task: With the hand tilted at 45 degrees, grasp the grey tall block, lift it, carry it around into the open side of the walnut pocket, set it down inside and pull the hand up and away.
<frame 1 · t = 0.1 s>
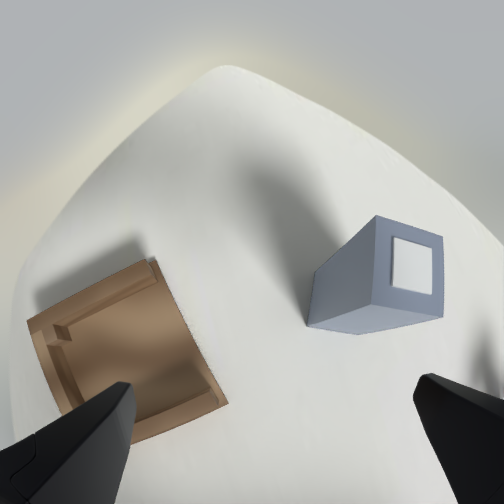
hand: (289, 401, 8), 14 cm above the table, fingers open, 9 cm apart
pocket: (120, 363, 20), on the table
grey tall block: (337, 303, 23), on the table
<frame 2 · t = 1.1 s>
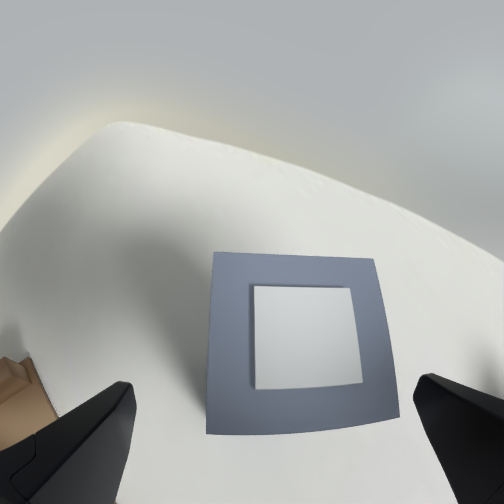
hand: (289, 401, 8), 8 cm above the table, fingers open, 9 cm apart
pocket: (15, 473, 9), on the table
grey tall block: (256, 391, 15), on the table
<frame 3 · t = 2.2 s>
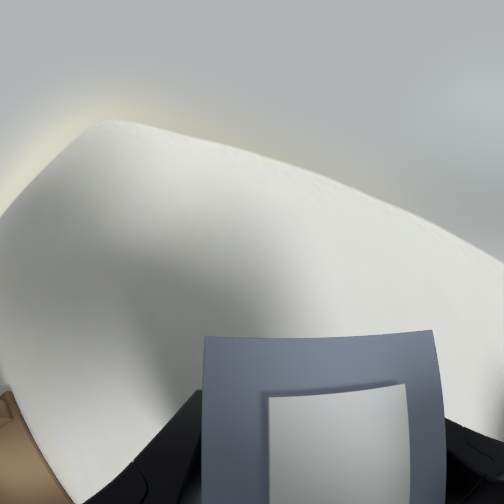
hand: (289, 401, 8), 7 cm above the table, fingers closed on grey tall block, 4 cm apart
grey tall block: (261, 436, 12), on the table, touching gripper
when the fingers open (7 cm above the table, at t = 6.1 s): grey tall block stays where it is, resting on pocket.
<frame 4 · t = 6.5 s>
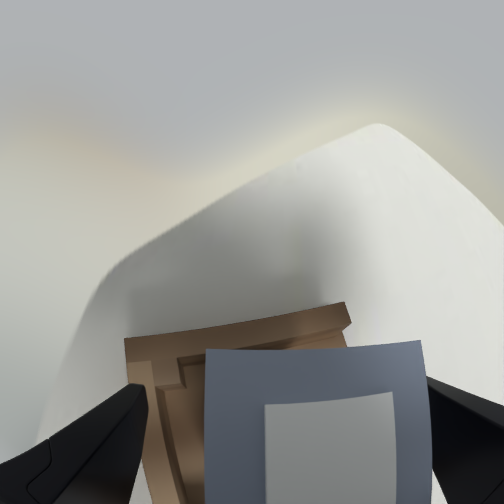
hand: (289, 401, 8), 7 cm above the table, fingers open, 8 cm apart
pocket: (258, 434, 13), on the table
grey tall block: (260, 435, 13), resting on pocket
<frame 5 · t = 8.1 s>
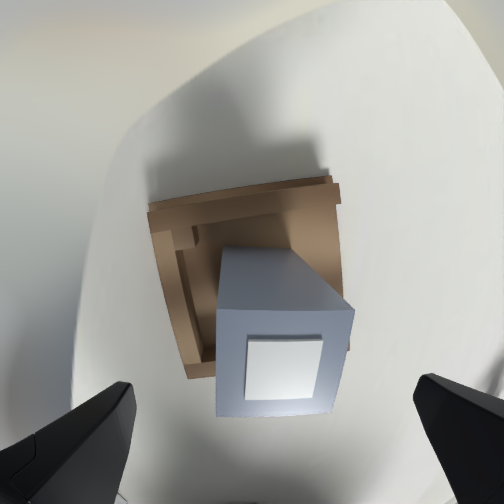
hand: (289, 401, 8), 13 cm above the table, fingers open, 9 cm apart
jar: (97, 491, 25), on the table
pocket: (254, 277, 20), on the table
grey tall block: (255, 279, 20), resting on pocket
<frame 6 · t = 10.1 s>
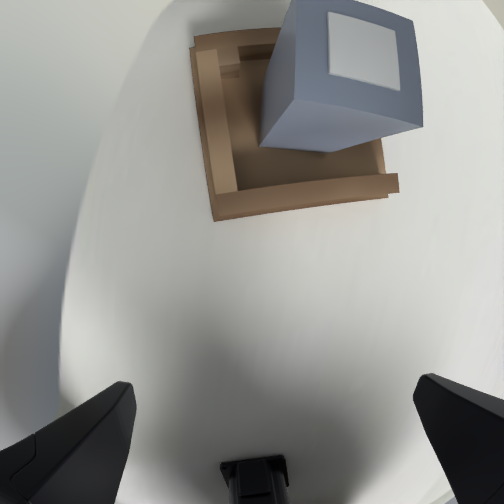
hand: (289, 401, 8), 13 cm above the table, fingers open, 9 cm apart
pocket: (292, 117, 18), on the table
grey tall block: (295, 117, 17), resting on pocket
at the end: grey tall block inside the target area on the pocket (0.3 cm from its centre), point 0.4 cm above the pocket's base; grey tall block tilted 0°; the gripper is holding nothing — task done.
